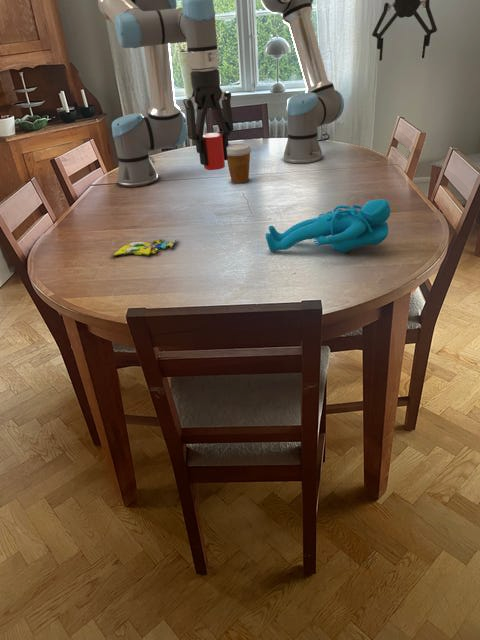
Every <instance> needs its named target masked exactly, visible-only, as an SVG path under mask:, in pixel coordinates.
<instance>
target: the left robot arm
mask: <svg viewBox="0 0 480 640" xmlns="http://www.w3.org/2000/svg"><path fill="white" fill-rule="evenodd" d="M95 2H96V7H97V9H98V11H99V13H100V14H101V15H102V16H103V18H104V19H105V20H107V21H109V22H111V23H113V24H114V27H115V28H114V29H115V33H116V37H117V40H118V43H119V45H120V47H121V48H123V49H137V48H143V52H144V59H145V67H146V77H147V82H148V90H149V98H150V106H149V108H148V109H147V114H148V116H143V114H142V113H138V112H137V113H130V114H126V115H123V116H120V117H118V118H115V119H114V120H113V121H112V122H111V132H112V138H113V141H114V146H115V151H116V155H117V160H118V167H117V168H118V170H117V183H118V186H120V187H123V188H124V187H125V188H136V187H137V188H138V187H145V186H147V185H148V186H149V185H151V184H154V183H156V182H157V181H158V180H159V176H158V172H157V169H156V168H155V166H154V163H153V158H152V157H151V156H150V151H156V150H162V149H167V148H175V147H178V146H182V145H183V144H184V143H185V141H186V139H187V138H188V139H189V140H192V141H195V149H196V153H197V154H199V163H200V165H202V166H204V165H205V166H207V165H208V160H207V151H206V142H205V140H202V139H203V134H204V130H205V124H206V115H207V114H208V110H211V112H212V114H213V116H214V120H215V121H216V125H217V128H218V131H219V133H221V134H222V138H223V149H224V159H225V161H227V160H228V157H227V147H228V145H229V144H230V143H229V136H230V135H231V133H232V132H234V120H233V112H232V105H231V101H232V93H231V91H223V90H222V88H221V85H222V84H221V83H222V81H221V70H219V69H218V67H219V66H220V62H219V51H218V38H217V24H216V11H215V5H214V0H182V2H181V6H182V7H178V4H177V0H95ZM179 43H180V44H181V43H186V47H187V57H188V58H187V59H188V66H189V67H188V68H189V69H190V70H191V71H190V73H189V75H190V82H191V88H192V94H191V96H190V97H188V98H183V100H182V102H183V105H184V108H185V113H184V112H183V111H181V109H180V107H179V106H178V105H177V104H176V100H175V99H176V97H175V88H174V78H173V68H172V67H173V66H172V56H171V48H170V47H171V45H170V44H179ZM220 100H221V104H220ZM195 105H196V111H195ZM185 115H186V116H185Z"/></svg>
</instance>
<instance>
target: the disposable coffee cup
mask: <svg viewBox="0 0 480 640" xmlns="http://www.w3.org/2000/svg"><path fill="white" fill-rule="evenodd" d="M231 144H232V145H228V147H227V157H228V160H226V162H227V168H228V173H229V176H230V180H231V182H232V183H234V184H244V183H246V182H248V181H249V179H250V178H249V177H250V162H251V161H250V160H251V151H252V148H251V146H250V144H248V143H244V142H243V143H231Z"/></svg>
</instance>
